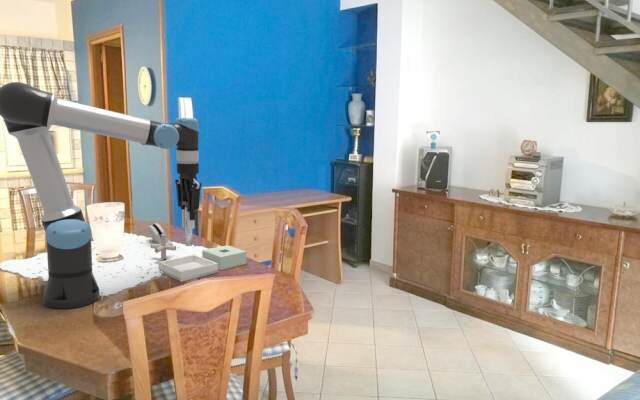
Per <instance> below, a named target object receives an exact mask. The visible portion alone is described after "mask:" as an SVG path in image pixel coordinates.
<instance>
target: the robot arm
mask: <svg viewBox="0 0 640 400" xmlns="http://www.w3.org/2000/svg"><path fill="white" fill-rule="evenodd" d="M0 116H1V118H2V119H3V122H4V124H5V128H6V129H7V132H8V135H10V136H13V137H15V138H16V140H17V142H18V146H19V148H20V150H21V153H22V156H23V159H24V162H25V164H26V167H27V169H28V173H29V175H30V178H31V180H32V183H33V186H34V188H35V191H36V194H37V197H38V200H39V202H40V204H41V208H42V210H43V215H42V217H41V218H40V221H41V224H42V227H43V229H44V232H45V240H46V252H47V253H46V255H47V270H48V276H47V277H48V278H47V281H46V285H45V286H44V287H45V288H44V291H43V294H42V304H43V306H45V307H46V308H47V307H48V308H50V309H55V310H56V309H59V310H60V309H61V310H63V309H74V308H79V307H83V306H87V305H90V304H92V303H94V302H96V301H97V300H98V299H99V298H100V295H101V294H100V288H99V285H98V283H97V280H96V278H95V275H94V273H93V259H92V258H93V257H92V256H93V255H92V254H93V253H92V234H93V233H92V230H91V226H90V224H89V223H88V222H87V221H86V220H85V217H84V214H83V212H82V208H81V207H79V206H77V205H75V204H74V201H73V197H72V196H71V192H70V190H69V187H68V184H67V181H66V177H65V175H64V172H63V169H62V167H61V163H60V160H59V159H58V158H59V157H58V155H57V153H56V152H57V151H56V150H55V147H54V144H53V140H52V138H51V135H50V133H49V132H50V129H51V127H52V126H58V127H63V128H67V129H72V130H76V131H80V132H84V133H85V132H86V133H91V134H96V135H101V136H105V137H110V138H114V139H119V140H123V141H129V142H135V143H139V144H141V146H152V147H155V148H156V147H158V148H159V149H163V150H169V149H172V148H174V147H176V160H175V161H176V162H177V163H176V174H177V175H179V177H178V179H174V181H175V182H174V183H175V189H176V197H177V198H176V199H177V206H178V207H179V208H180V209H181V227H182V228H183V229H185V205H182V201H186V200H188V210H186V211H187V229H192V230H193V229H195V227H196V225H195V223H196V221H195V220H196V211H199V209H200V197H201V188H202V183H201V182H199V181H197V175H198V174H199V173H200V169H199V168H200V163H199V160H200V159H199V155H200V154H199V147H200V146H199V144H200V142H199V141H200V138H199V136H200V135H199V134H200V129H199V121H198V119H197V118H195V117H176V119H175V122H172V123H169V122H159V121H156V120H155V121H154V120H150V119H147V118H142V117H138V116H135V115H130V114H125V113H121V112H116V111H113V110H108V109H105V108H100V107H96V106H91V105H87V104H83V103H79V102H75V101H70V100H66V99H62V98H59V97H58V96H56V94H55V93H52V92H48V91H44V90H41V89H38V88H37V87H34V86H33V85H30V84H27V83H24V82H20V81H19V82H17V81H16V82H15V81H14V82H7V83H6V84H3V85H2V86H1V87H0Z"/></svg>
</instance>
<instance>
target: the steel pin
mask: <svg viewBox="0 0 640 400" xmlns="http://www.w3.org/2000/svg"><path fill="white" fill-rule="evenodd" d="M182 205H185V228H184V235H185V236H184V240H185V241H184V242H185V243H184V244H185V246H186V247H192V246H193V229H187V211H186V210H188V200H186V201H182Z"/></svg>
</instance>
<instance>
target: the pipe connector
mask: <svg viewBox="0 0 640 400" xmlns="http://www.w3.org/2000/svg"><path fill="white" fill-rule="evenodd" d="M166 237H167V235H166V233H165V234H161V244H157V243H151V244H150V249H154V252H155V253H156V254H157V253H160V258H161V259H166V260H167V250H168V251H176V250H177V246H176V245H173V246H172V244H173V243H172V241H170V242H168V243H166ZM161 259H160V260H161Z"/></svg>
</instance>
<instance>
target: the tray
mask: <svg viewBox="0 0 640 400" xmlns="http://www.w3.org/2000/svg"><path fill="white" fill-rule="evenodd" d="M159 270H160V271H162V272H163V273H162V272H161V273H162V274H164V275H165V276H168V277H170V278H172V279H174V280H176V281H178V282H181V283H182V282H185V281H191V280H194V279H197V278H198V279H199V278H202V277H206V276H210V275H213V274H218V271H219V269H218V263H215V262H213V261H210V260H208V259H205V258H203V257H202V256H200V255H197V254H189V255H186V256H181V257H176V258H171V259H166V260H160V261H158V271H159Z"/></svg>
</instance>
